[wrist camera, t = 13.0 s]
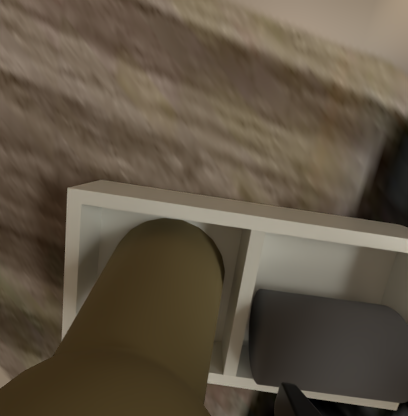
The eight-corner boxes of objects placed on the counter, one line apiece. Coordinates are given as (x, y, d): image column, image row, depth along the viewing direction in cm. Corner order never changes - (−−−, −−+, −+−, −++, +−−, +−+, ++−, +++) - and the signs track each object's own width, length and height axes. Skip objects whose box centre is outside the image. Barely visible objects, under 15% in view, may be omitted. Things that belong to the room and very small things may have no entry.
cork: (247, 283, 14) (385, 757, 3) (160, 342, 15) (20, 877, 4) (176, 193, 13) (-5, 407, 2) (88, 262, 14) (-364, 666, 3)
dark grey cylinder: (394, 290, 12) (439, 395, 9) (350, 321, 15) (375, 407, 12) (266, 273, 12) (274, 374, 9) (247, 307, 15) (249, 391, 12)
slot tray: (399, 224, 14) (457, 246, 11) (357, 356, 16) (396, 410, 13) (101, 179, 14) (67, 187, 11) (92, 317, 16) (60, 361, 12)
